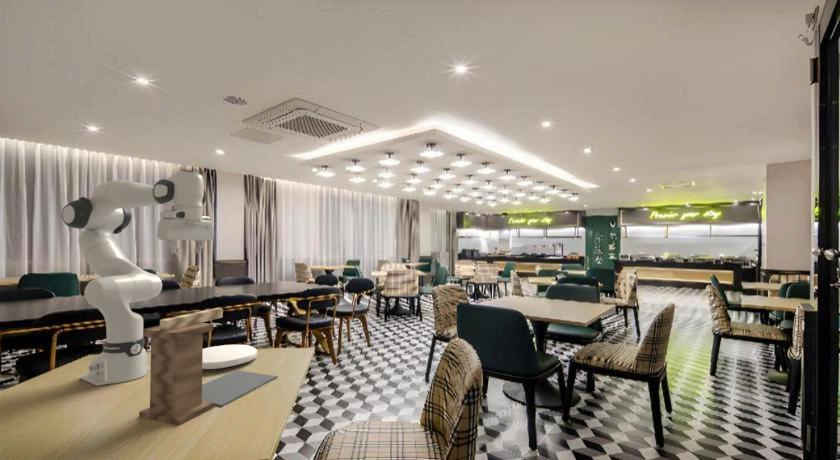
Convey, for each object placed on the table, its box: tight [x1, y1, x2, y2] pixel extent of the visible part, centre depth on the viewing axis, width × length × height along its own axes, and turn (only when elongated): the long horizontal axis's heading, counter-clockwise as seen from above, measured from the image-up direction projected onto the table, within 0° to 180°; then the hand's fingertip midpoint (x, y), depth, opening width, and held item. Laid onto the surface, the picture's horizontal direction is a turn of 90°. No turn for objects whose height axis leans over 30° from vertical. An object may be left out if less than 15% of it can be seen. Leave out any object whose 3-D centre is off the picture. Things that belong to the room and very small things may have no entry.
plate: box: [202, 344, 258, 370], centre depth 160 cm, size 28×6×27 cm
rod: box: [159, 307, 224, 331], centre depth 120 cm, size 20×3×3 cm, turn 162°
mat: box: [202, 369, 279, 408], centre depth 134 cm, size 20×26×1 cm
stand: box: [138, 322, 215, 426], centre depth 115 cm, size 16×12×26 cm
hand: (186, 253), depth 135 cm, fingers open, 8 cm apart
